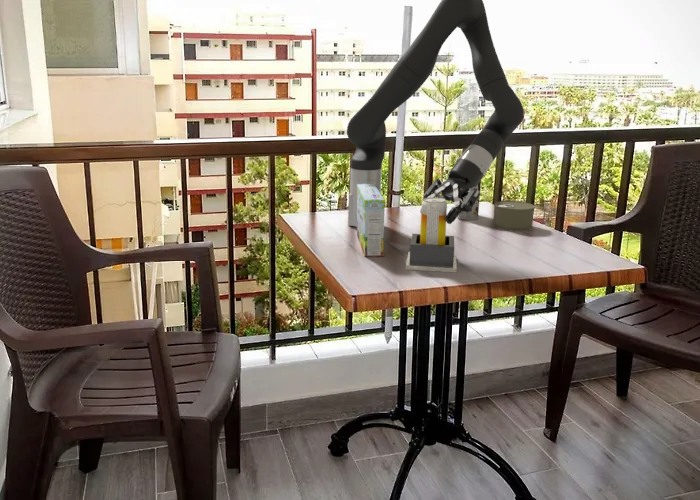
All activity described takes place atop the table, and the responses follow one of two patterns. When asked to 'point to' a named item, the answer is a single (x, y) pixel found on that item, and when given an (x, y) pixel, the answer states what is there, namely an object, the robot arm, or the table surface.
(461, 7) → the robot arm
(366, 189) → the snack box
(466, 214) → the coffee box
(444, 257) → the can holder
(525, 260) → the table surface
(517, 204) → the grey round container
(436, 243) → the beer can
